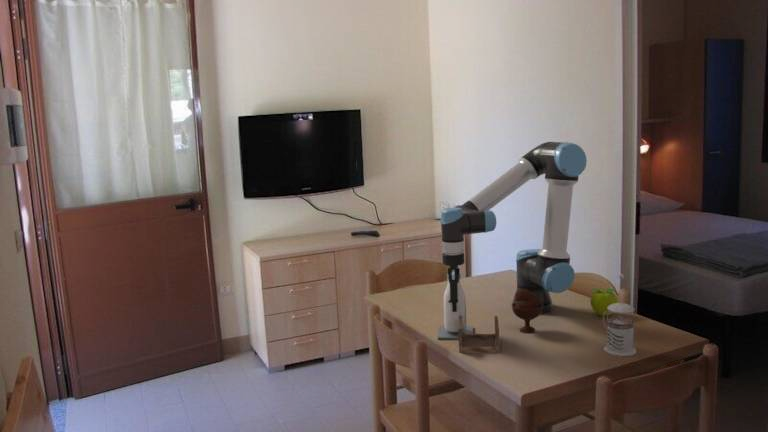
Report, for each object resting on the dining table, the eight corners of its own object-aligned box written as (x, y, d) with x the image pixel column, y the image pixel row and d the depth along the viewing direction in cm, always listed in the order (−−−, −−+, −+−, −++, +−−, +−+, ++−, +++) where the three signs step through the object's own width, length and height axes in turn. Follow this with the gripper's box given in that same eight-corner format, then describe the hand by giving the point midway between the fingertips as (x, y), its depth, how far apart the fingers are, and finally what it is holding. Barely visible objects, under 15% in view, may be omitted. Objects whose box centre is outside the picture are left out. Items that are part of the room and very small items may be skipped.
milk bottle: (465, 332, 220) (463, 276, 216) (443, 332, 221) (441, 276, 218) (467, 325, 227) (465, 271, 224) (445, 325, 229) (443, 271, 225)
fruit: (589, 310, 241) (589, 285, 240) (614, 311, 239) (615, 285, 238) (591, 318, 233) (591, 292, 231) (618, 319, 231) (618, 292, 229)
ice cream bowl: (526, 338, 216) (525, 295, 214) (505, 329, 226) (504, 288, 224) (550, 332, 221) (549, 290, 219) (528, 323, 231) (528, 283, 228)
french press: (619, 358, 196) (620, 279, 192) (593, 346, 206) (593, 271, 202) (643, 351, 200) (645, 274, 196) (616, 340, 210) (617, 267, 206)
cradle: (498, 338, 218) (497, 315, 216) (499, 352, 205) (498, 328, 204) (459, 338, 220) (459, 315, 218) (459, 352, 207) (458, 328, 206)
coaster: (473, 327, 229) (472, 325, 229) (473, 339, 218) (472, 337, 217) (439, 327, 231) (439, 325, 231) (437, 339, 219) (437, 337, 219)
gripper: (443, 246, 230) (445, 307, 234) (440, 259, 210) (443, 326, 214) (464, 246, 229) (466, 307, 233) (463, 259, 209) (465, 325, 213)
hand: (455, 316), depth 223 cm, fingers closed on milk bottle, 8 cm apart
